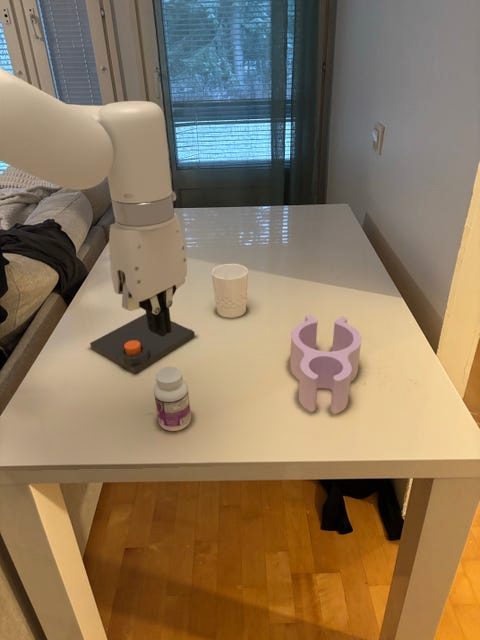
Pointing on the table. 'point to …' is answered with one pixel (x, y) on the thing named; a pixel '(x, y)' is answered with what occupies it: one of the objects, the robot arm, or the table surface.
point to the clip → (324, 362)
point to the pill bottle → (172, 399)
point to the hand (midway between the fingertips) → (160, 331)
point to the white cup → (230, 289)
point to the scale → (149, 341)
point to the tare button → (132, 347)
